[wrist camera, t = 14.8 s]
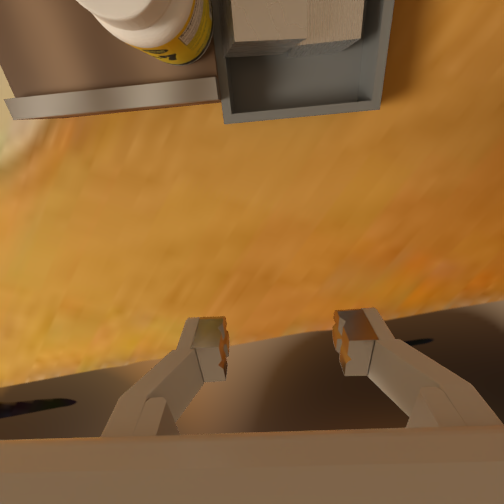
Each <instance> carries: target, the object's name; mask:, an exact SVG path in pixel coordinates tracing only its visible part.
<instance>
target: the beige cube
mask: <svg viewBox="0 0 504 504" xmlns="http://www.w3.org/2000/svg"><path fill="white" fill-rule="evenodd" d="M363 9H364V0H307V39H305V40H303V41H302V42H300V43H299V44H297V45H296V46H294V47H292V48H291V49H289V50H288V51H287V58H290V57H300V56H309V55H318V54H328V53H337V52H342V51H344V50H345V49H347V48H348V47H349V46H351V45H352V44H354V43H355V42H356V41H358V40H359V39H361V30H362V20H363Z"/></svg>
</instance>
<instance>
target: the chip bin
mask: <svg viewBox="0 0 504 504" xmlns="http://www.w3.org/2000/svg"><path fill="white" fill-rule="evenodd" d="M394 1H395V0H364V9H363V20H362V30H361V39H359V40H358V41H356V42H355V43H354V44H352V45H351V46H349V47H348V48H347V49H345V50H344V51H342V52H337V53H328V54H318V55H309V56H300V57H290V58H287V51H286V52H285V53H283V54H279V55H261V56H244V57H227V58H224V57H223V48H222V39H221V29H220V20H219V11H218V2H217V0H211V2H212V7H213V13H214V28H213V37H214V45H215V53H216V61H217V69H218V77H219V86H220V94H221V102H222V110H223V118H224V124H231V123H242V122H252V121H263V120H273V119H284V118H294V117H305V116H316V115H326V114H337V113H347V112H358V111H369V110H379V109H380V104H381V97H382V89H383V82H384V75H385V67H386V60H387V52H388V45H389V38H390V30H391V23H392V16H393V8H394Z"/></svg>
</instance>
